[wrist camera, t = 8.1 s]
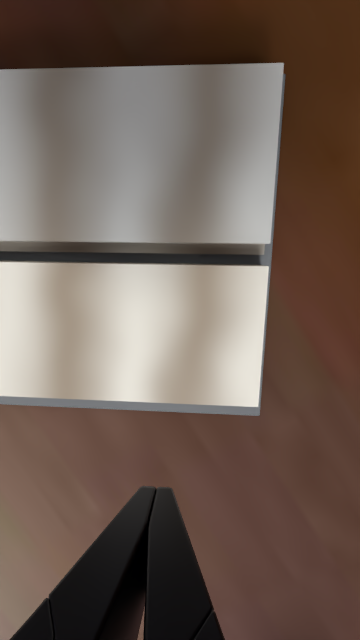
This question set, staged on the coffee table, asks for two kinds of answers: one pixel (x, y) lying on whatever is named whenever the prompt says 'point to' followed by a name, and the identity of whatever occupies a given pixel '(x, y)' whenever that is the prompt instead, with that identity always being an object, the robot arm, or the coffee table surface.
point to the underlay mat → (152, 258)
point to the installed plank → (139, 158)
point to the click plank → (133, 331)
